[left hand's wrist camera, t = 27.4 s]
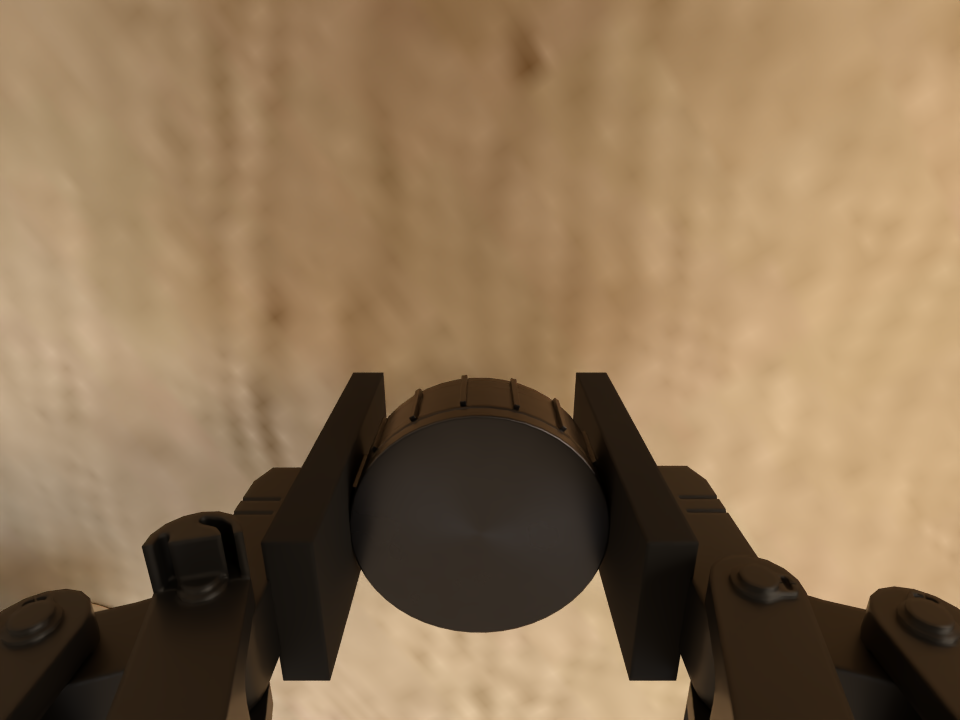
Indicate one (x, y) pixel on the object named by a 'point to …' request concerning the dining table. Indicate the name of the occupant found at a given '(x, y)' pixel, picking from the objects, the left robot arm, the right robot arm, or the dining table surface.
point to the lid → (479, 507)
